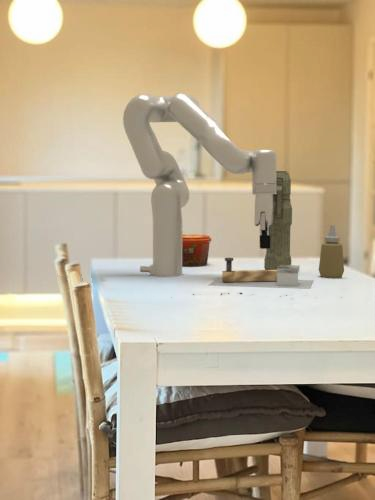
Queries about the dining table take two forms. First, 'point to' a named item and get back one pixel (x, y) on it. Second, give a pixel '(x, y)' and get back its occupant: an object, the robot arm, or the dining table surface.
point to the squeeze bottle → (331, 256)
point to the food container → (195, 250)
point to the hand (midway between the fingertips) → (265, 248)
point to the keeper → (287, 275)
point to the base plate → (262, 284)
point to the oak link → (247, 274)
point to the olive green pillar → (280, 224)
